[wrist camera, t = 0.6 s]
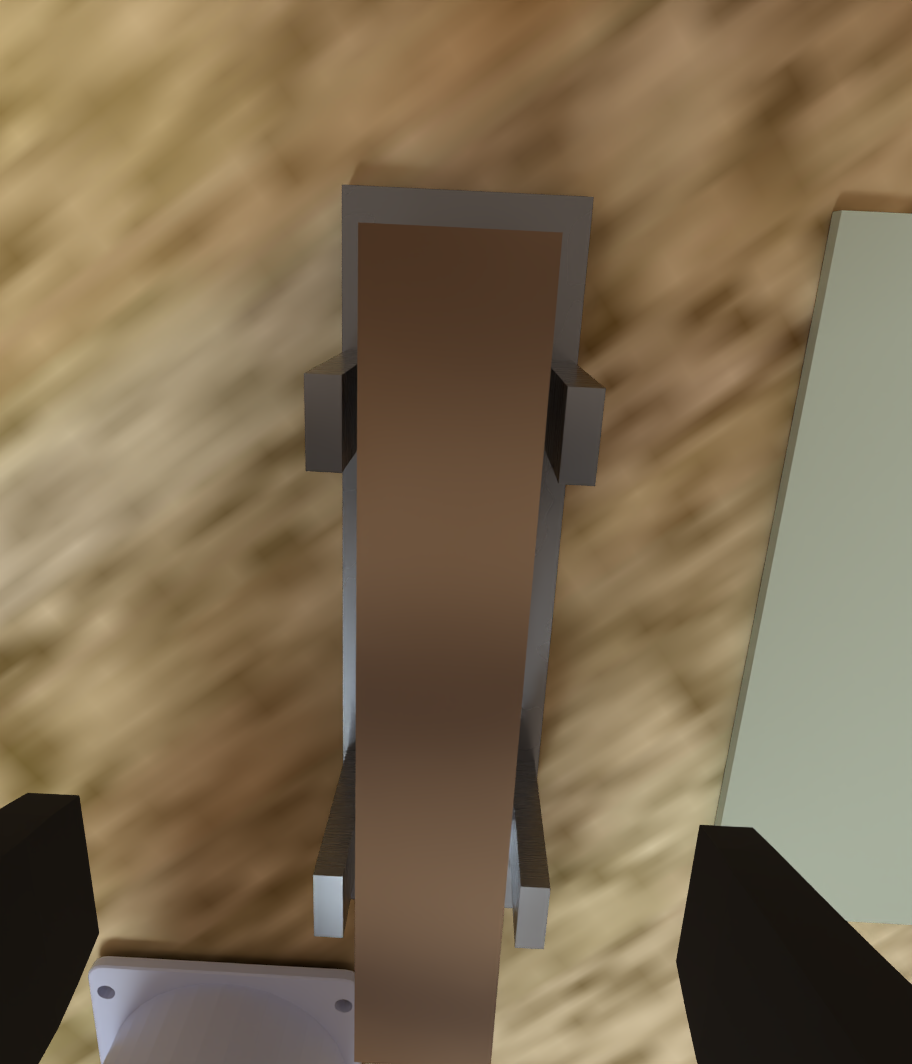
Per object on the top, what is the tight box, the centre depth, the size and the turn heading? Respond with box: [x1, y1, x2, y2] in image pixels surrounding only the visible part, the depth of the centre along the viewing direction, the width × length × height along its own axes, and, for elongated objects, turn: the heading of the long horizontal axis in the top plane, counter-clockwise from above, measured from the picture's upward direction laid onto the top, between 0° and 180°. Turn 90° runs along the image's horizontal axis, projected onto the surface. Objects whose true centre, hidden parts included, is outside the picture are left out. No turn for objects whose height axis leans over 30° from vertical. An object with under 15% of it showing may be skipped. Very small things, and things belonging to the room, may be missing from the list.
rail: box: [354, 222, 563, 1064], centre depth 14 cm, size 16×3×3 cm, turn 177°
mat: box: [714, 210, 912, 925], centre depth 18 cm, size 18×7×1 cm, turn 177°
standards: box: [304, 185, 606, 949], centre depth 16 cm, size 18×5×5 cm, turn 177°
